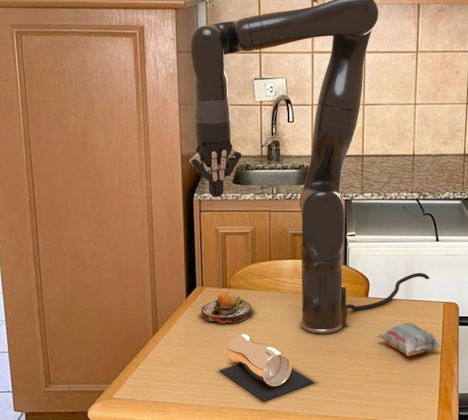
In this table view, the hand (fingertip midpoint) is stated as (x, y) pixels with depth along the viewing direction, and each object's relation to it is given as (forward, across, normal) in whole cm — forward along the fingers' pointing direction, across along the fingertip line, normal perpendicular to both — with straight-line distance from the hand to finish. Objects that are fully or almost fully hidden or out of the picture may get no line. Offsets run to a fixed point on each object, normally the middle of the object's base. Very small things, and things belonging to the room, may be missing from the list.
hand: (216, 196), depth 180 cm
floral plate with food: (+31, +4, +4) cm, 32 cm away
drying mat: (+31, -7, -28) cm, 42 cm away
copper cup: (+28, -7, -19) cm, 34 cm away
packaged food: (+31, +24, -37) cm, 54 cm away
